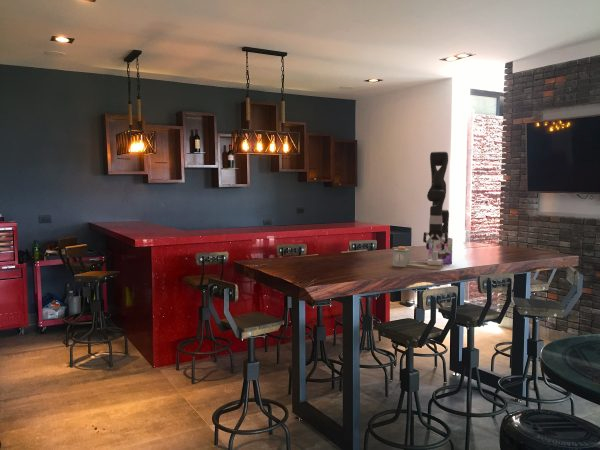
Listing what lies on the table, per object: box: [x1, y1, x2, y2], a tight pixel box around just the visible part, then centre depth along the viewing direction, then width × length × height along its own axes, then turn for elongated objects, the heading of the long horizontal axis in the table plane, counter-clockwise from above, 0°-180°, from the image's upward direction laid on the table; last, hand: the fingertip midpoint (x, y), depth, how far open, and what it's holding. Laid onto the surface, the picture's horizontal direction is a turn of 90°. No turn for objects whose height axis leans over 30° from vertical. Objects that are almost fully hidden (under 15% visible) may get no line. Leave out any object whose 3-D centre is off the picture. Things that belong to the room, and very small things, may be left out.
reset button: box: [396, 245, 407, 250], centre depth 313 cm, size 4×4×4 cm
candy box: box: [427, 237, 453, 265], centre depth 321 cm, size 14×6×16 cm, turn 101°
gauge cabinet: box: [392, 248, 411, 268], centre depth 313 cm, size 10×8×10 cm
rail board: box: [405, 260, 444, 270], centre depth 308 cm, size 10×20×3 cm, turn 63°
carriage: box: [426, 251, 443, 265], centre depth 304 cm, size 8×8×8 cm
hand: (435, 249), depth 304 cm, fingers open, 8 cm apart
